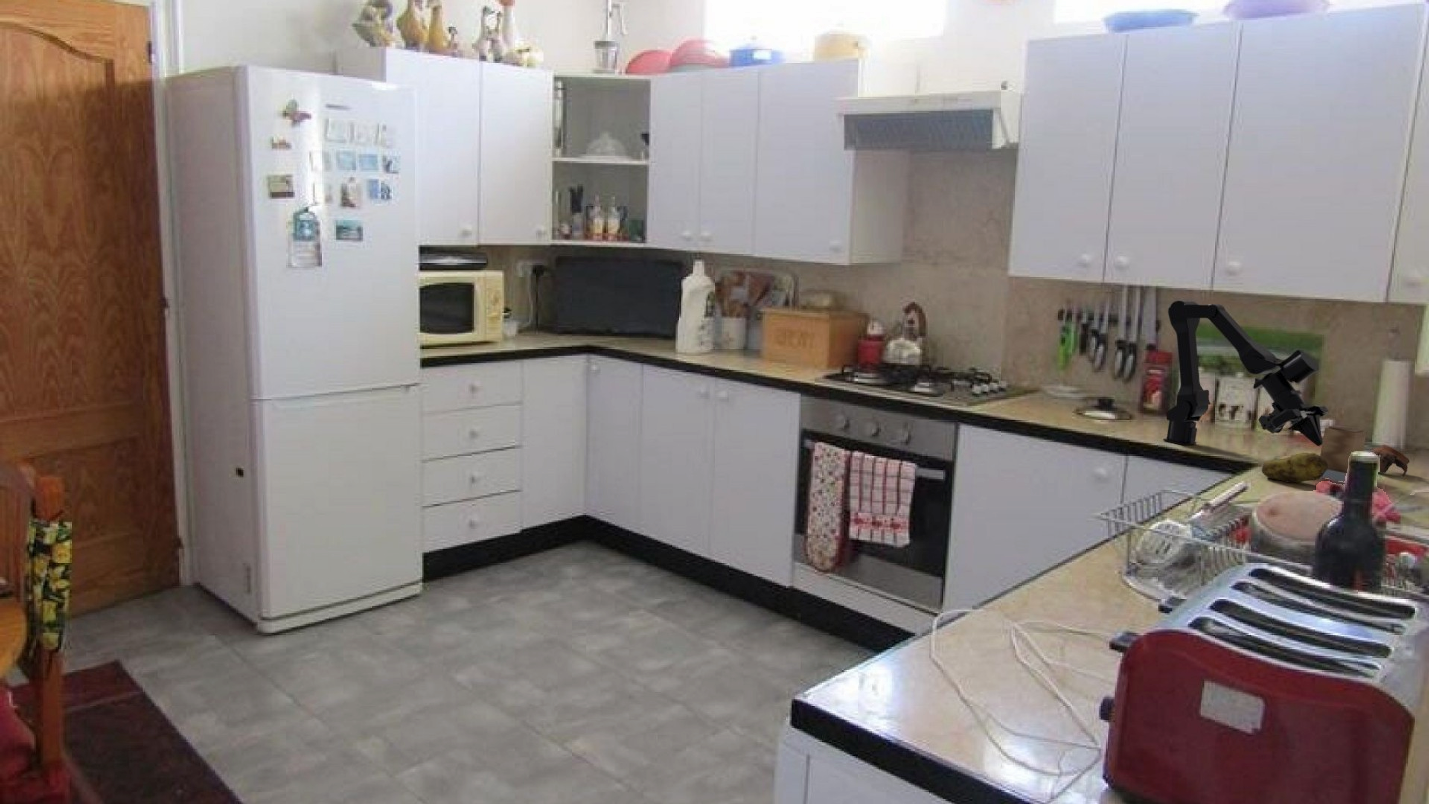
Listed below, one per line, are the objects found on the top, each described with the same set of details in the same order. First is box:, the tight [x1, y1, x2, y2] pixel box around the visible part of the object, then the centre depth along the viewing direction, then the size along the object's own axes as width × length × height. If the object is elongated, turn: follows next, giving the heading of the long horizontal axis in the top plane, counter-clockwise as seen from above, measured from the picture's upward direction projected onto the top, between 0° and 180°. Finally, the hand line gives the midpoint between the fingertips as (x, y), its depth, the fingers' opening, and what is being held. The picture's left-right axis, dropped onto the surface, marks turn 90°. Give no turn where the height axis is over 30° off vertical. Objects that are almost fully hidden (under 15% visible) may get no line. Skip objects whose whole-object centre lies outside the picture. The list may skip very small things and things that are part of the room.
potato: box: [1261, 452, 1328, 483], centre depth 244 cm, size 8×13×8 cm, turn 32°
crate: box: [1319, 424, 1367, 473], centre depth 252 cm, size 7×6×12 cm
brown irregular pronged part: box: [1369, 444, 1411, 477], centre depth 262 cm, size 12×10×8 cm
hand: (1320, 445), depth 256 cm, fingers closed
